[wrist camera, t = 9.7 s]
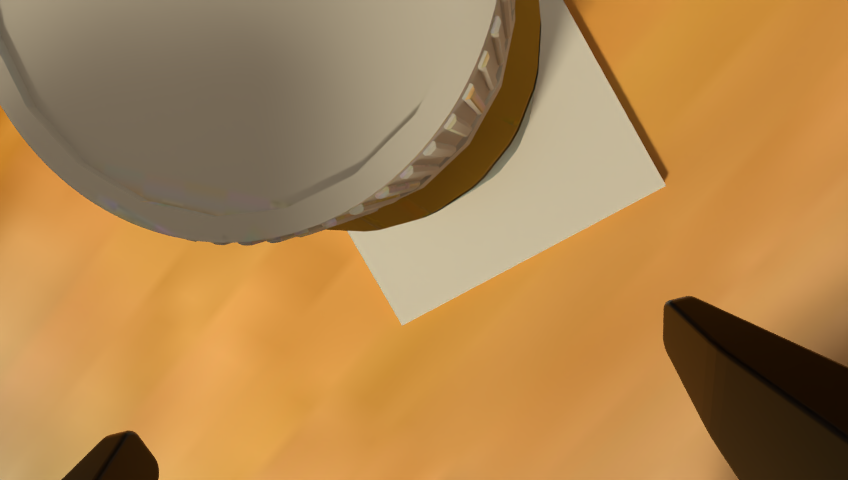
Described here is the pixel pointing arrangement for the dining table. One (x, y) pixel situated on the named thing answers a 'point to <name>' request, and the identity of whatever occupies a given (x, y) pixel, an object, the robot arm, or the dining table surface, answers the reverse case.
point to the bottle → (270, 107)
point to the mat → (523, 185)
